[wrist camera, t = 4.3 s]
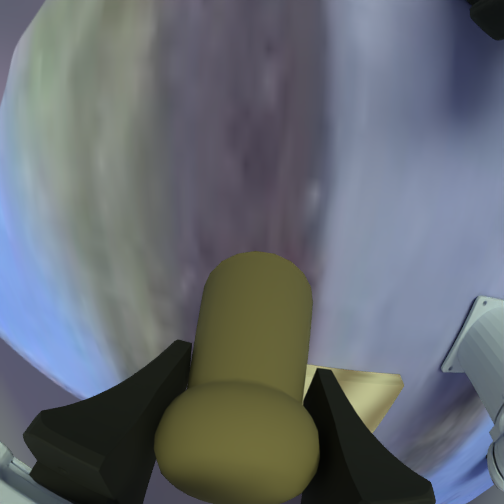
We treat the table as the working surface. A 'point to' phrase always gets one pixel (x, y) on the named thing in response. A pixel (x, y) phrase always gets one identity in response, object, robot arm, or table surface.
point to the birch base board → (364, 392)
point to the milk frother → (489, 16)
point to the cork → (245, 389)
